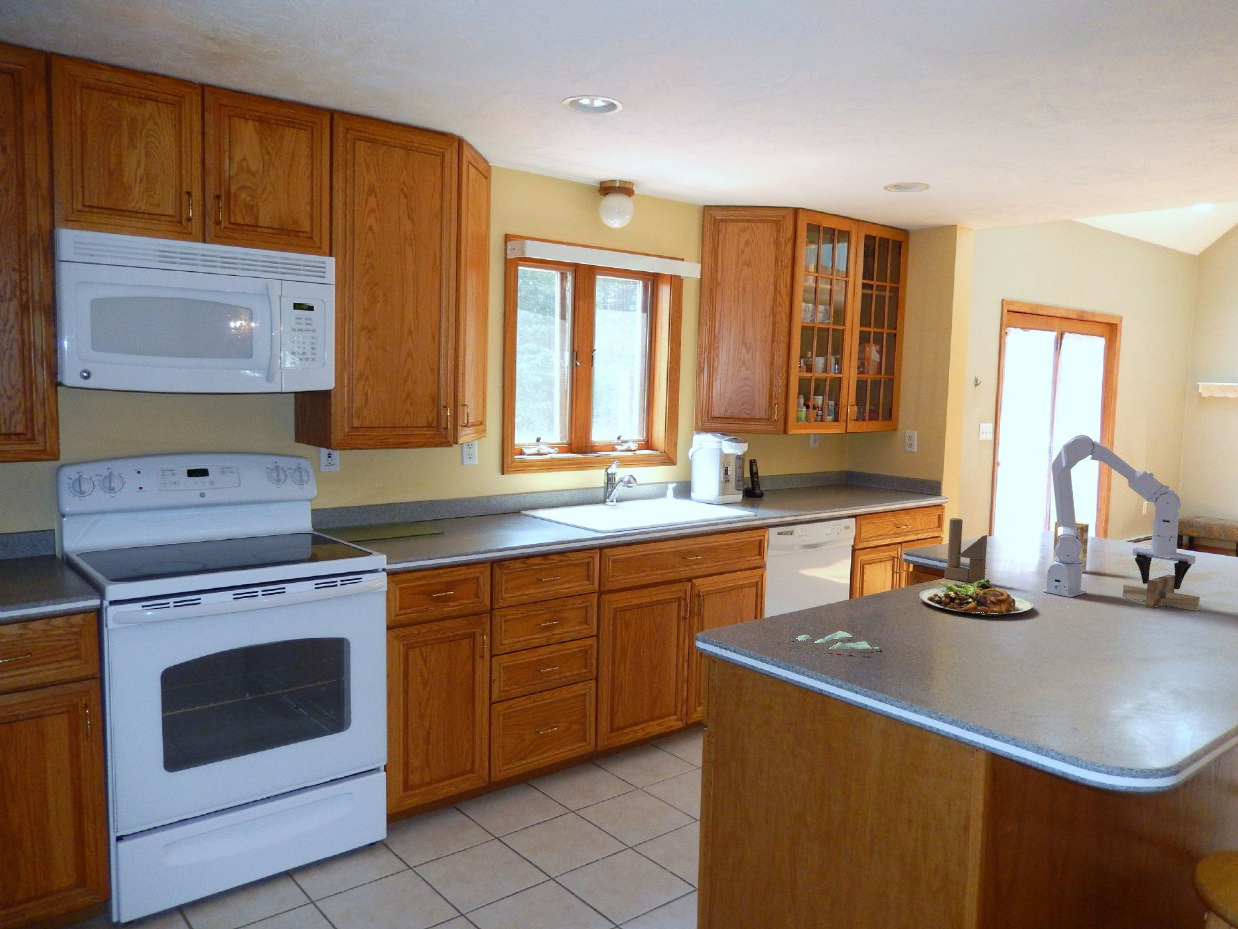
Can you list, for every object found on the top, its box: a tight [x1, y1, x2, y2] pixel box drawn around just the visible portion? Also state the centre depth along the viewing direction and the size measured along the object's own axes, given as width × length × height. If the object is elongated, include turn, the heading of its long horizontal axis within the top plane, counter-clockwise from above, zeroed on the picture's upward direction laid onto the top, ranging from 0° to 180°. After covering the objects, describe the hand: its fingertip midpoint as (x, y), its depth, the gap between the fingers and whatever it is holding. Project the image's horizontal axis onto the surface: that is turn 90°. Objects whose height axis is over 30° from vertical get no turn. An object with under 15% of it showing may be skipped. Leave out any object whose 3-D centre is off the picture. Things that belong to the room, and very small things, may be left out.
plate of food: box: [918, 578, 1034, 616], centre depth 231 cm, size 28×28×6 cm
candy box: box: [1052, 520, 1090, 574], centre depth 279 cm, size 9×4×15 cm, turn 44°
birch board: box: [1122, 583, 1201, 612], centre depth 237 cm, size 2×18×4 cm, turn 38°
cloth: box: [796, 630, 881, 649], centre depth 194 cm, size 20×22×2 cm
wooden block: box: [944, 517, 988, 584], centre depth 261 cm, size 4×11×18 cm, turn 47°
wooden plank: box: [1145, 574, 1175, 609], centre depth 237 cm, size 14×2×7 cm, turn 128°
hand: (1161, 586), depth 237 cm, fingers open, 7 cm apart
